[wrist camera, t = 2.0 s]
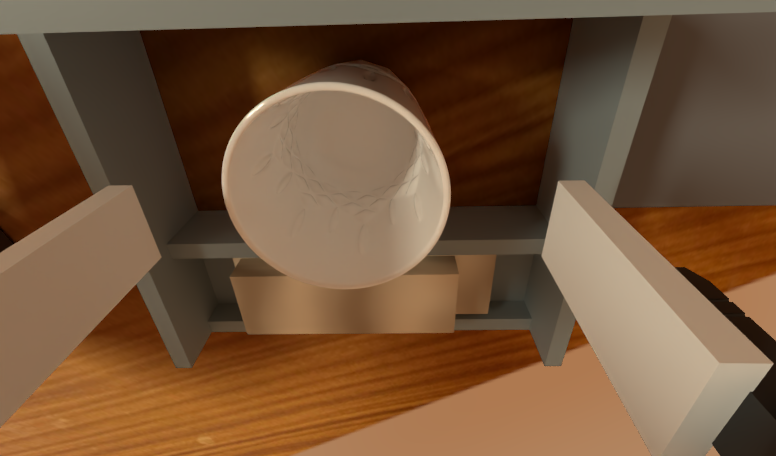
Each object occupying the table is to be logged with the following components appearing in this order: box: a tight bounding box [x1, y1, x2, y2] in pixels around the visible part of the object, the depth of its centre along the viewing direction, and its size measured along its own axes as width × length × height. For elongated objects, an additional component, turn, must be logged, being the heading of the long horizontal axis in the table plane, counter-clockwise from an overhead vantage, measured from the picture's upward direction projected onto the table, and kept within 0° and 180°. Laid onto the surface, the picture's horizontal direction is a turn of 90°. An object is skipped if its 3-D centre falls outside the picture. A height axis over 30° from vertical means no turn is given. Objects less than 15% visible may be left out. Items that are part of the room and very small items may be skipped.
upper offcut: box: [230, 256, 459, 334], centre depth 23 cm, size 13×5×2 cm, turn 91°
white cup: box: [221, 60, 451, 289], centre depth 17 cm, size 8×8×10 cm
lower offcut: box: [233, 255, 496, 314], centre depth 25 cm, size 16×5×2 cm, turn 91°
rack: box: [0, 0, 776, 368], centre depth 18 cm, size 24×20×12 cm
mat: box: [612, 12, 776, 208], centre depth 21 cm, size 11×11×1 cm
